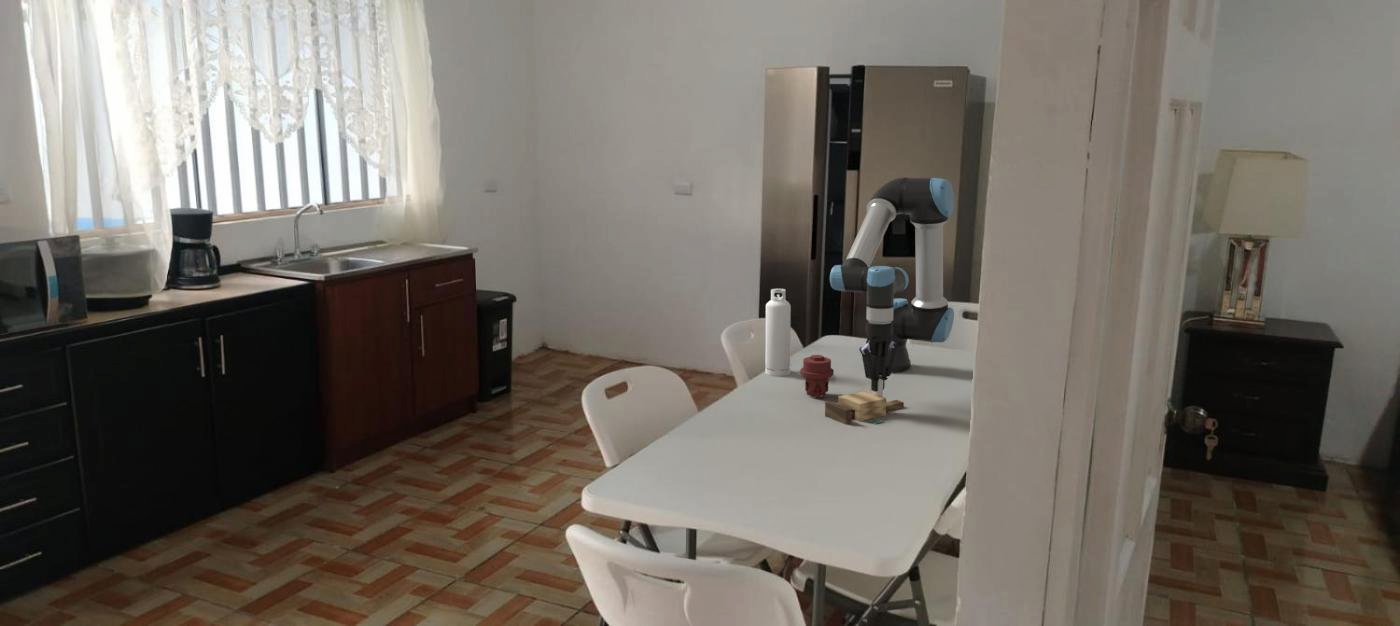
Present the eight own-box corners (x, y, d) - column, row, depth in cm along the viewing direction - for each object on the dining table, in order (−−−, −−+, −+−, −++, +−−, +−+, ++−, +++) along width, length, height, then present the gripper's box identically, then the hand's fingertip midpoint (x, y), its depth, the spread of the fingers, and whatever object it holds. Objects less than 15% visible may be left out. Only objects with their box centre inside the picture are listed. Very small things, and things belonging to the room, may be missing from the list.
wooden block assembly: (879, 398, 292) (879, 385, 291) (922, 413, 277) (922, 400, 276) (815, 412, 279) (815, 398, 279) (856, 428, 264) (856, 414, 264)
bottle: (789, 369, 326) (790, 287, 320) (789, 376, 318) (790, 292, 312) (765, 369, 327) (766, 287, 321) (764, 375, 319) (765, 291, 313)
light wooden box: (864, 407, 283) (864, 390, 282) (885, 415, 276) (886, 398, 275) (838, 413, 278) (838, 396, 277) (859, 421, 271) (859, 404, 270)
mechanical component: (831, 390, 301) (834, 400, 291) (798, 391, 301) (801, 400, 291) (831, 352, 298) (835, 360, 288) (799, 352, 298) (801, 360, 289)
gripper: (887, 316, 281) (885, 394, 286) (853, 321, 274) (851, 401, 279) (905, 320, 275) (903, 400, 280) (871, 326, 268) (869, 408, 273)
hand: (877, 401), depth 279 cm, fingers closed
